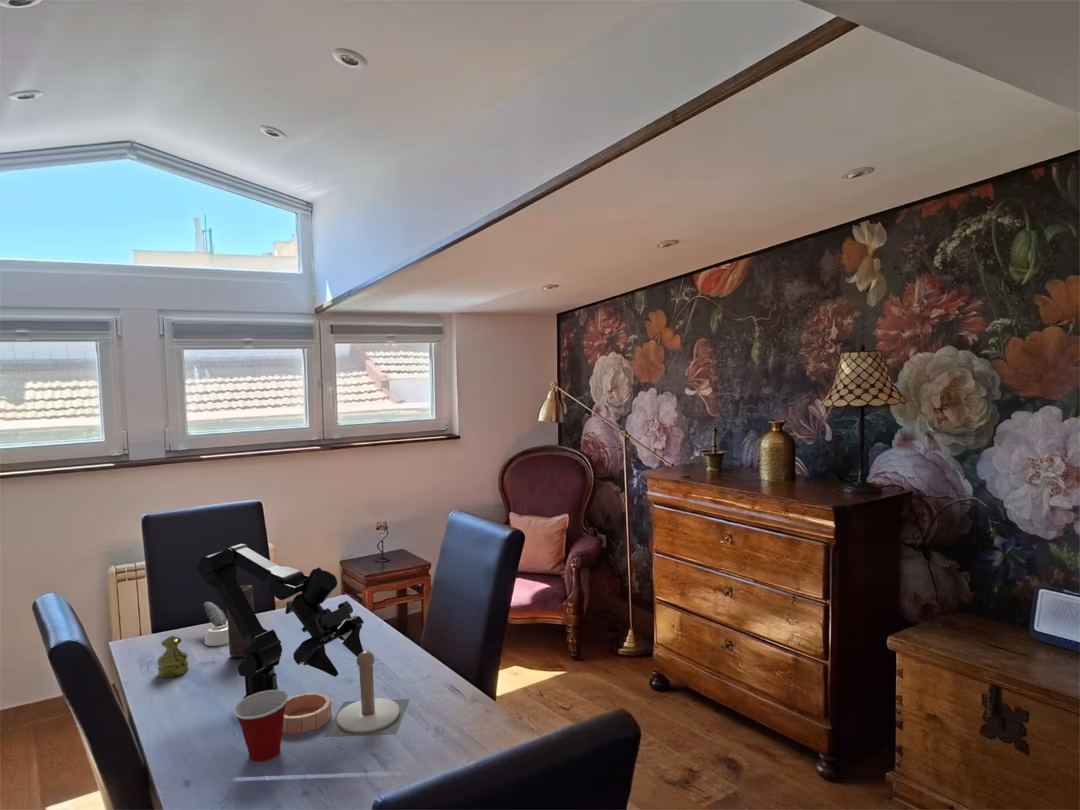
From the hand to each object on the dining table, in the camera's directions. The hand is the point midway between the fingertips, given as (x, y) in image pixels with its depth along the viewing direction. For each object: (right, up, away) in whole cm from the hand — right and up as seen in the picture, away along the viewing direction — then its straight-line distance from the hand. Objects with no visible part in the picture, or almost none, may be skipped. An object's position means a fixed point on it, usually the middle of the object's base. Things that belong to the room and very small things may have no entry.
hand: (350, 667), depth 162 cm
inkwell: (-57, -11, +54) cm, 79 cm away
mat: (+5, -12, -1) cm, 12 cm away
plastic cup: (-14, -13, -15) cm, 25 cm away
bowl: (-10, -12, -1) cm, 16 cm away
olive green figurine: (-57, -13, +29) cm, 65 cm away
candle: (-42, -11, +39) cm, 58 cm away
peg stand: (+4, -11, -1) cm, 12 cm away
